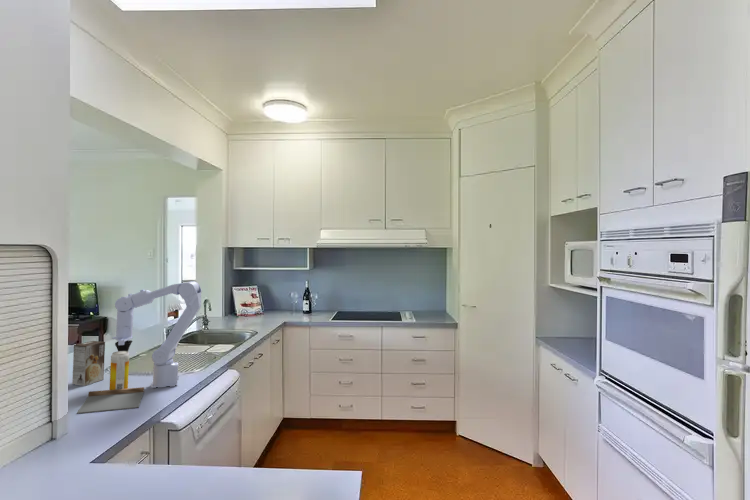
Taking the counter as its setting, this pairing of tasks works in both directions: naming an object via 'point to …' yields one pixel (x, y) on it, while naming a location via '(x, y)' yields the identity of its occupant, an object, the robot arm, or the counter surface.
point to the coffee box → (88, 363)
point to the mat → (111, 402)
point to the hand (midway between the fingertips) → (122, 359)
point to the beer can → (119, 370)
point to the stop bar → (115, 391)
